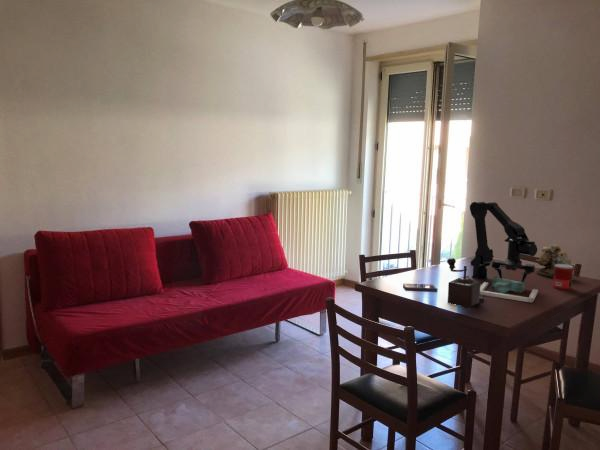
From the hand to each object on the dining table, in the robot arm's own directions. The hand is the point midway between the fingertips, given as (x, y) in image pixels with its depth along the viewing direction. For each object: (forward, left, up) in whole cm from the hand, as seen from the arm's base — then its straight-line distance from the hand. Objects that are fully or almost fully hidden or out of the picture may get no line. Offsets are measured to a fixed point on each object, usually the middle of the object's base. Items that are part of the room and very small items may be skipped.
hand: (511, 283), depth 242 cm
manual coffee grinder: (-16, -38, -2) cm, 42 cm away
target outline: (0, -12, -2) cm, 12 cm away
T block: (-2, -9, -2) cm, 9 cm away
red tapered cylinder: (+21, +12, -2) cm, 24 cm away
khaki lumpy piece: (+15, +35, -2) cm, 38 cm away
